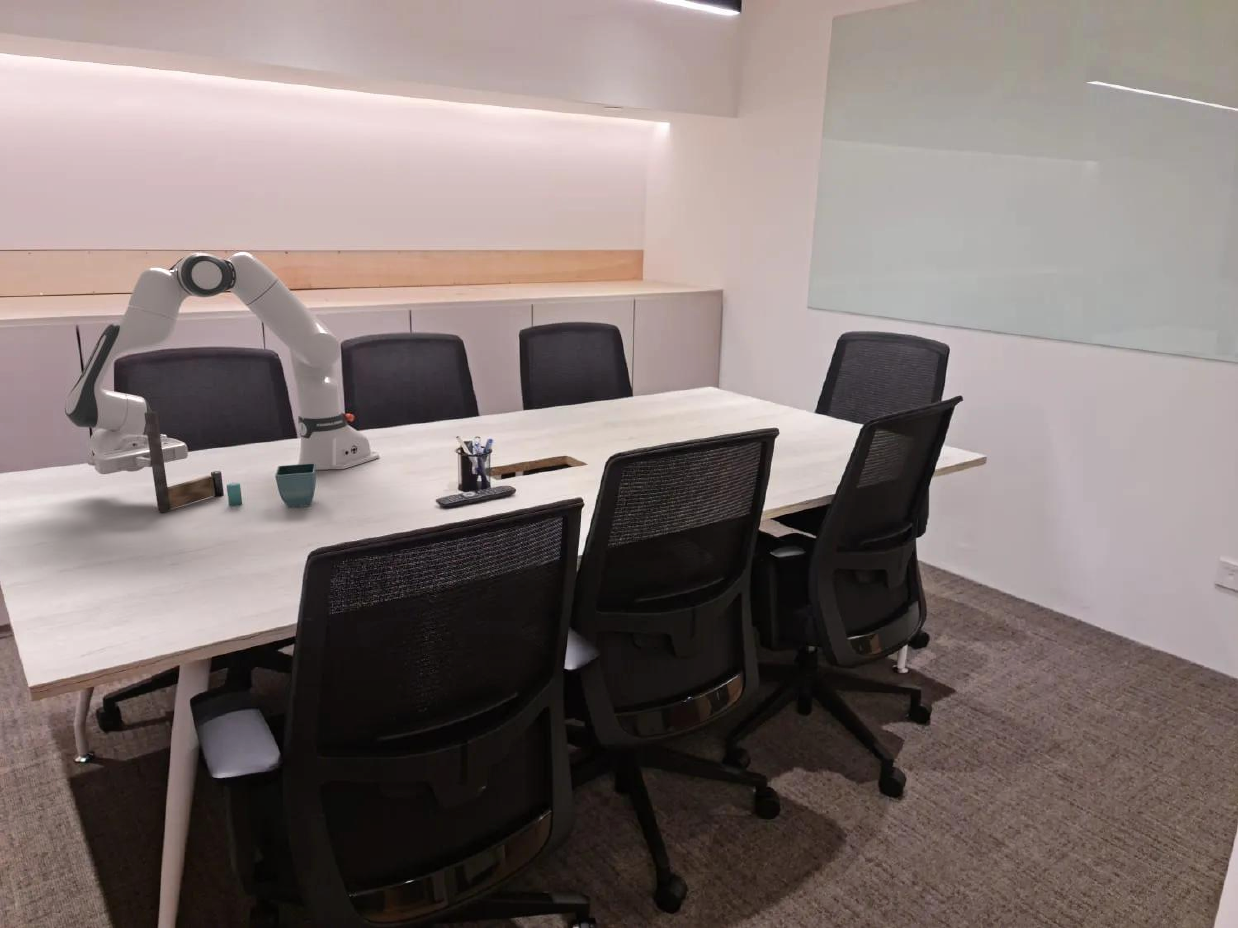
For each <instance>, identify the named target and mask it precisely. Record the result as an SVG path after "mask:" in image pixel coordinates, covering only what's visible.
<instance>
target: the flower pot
mask: <svg viewBox="0 0 1238 928" xmlns="http://www.w3.org/2000/svg"><path fill="white" fill-rule="evenodd" d="M274 476H275V480H276V481H275V482H276V485H277V489H278V493H279V496H280V498H281V501H283V503H284V504H285V505H286V507H287V508H298V507H309V506H311V504H312V502H313V499H314V497H315V491H316V484H317V470H316V464H315V463H311V464H299V465H298V464H290V465H288V464H287V465H286V464H285V465H279V466H277V469H276V472H275V474H274Z"/></svg>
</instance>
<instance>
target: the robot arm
mask: <svg viewBox="0 0 1238 928" xmlns="http://www.w3.org/2000/svg"><path fill="white" fill-rule="evenodd" d="M226 291H229V292H231V293H233V295H235V296H236V297H237V298H238V299H240V301H241V302H242V303H243V304H244V305H245V306H246V308H248V309H249V310H250V311H251V313H253V314H254V315H255V317H257V318H258V319H259V320H260V322H261V323H263V324H264V325H265V327H267V328H268V330H270V331H271V332H272V333H273V334H274V335H275V336H276V337H277V338H278V339H279V340H280V341H281V342H282V344H284V345H285V346H287V348H289V353H290V359H291V364H292V365H291V366H292V370H293V375H294V380H295V385H296V393H297V403H298V413H299V415H298V416H297V420H298V432H299V436H300V448H299V449H300V450H299V451H300V453H299V459H298V463H297V465H299V464H311V463H315V464H316V471H318V470H320V471H321V470H345V469H347V468H351V467H354V466H357V465H360V464H363V463H367V462H369V461H373V460H377V459H379V458H380V455H379V454H380V453H379V452H377V451H375V450H373V449H371V446H370V441H369V439H368V437H367V436H366V435H365V434H363V433H361V432H360V431H358V430H357V429H355V428H353V427H352V426H350V425H349V423H348V422H353V421H354V420H355V416H354V414H351V413H346V414H345V413H343V412H342V409H341V397H340V387H339V383H338V379H337V375H336V370H335V366H334V365H335V364H336V362H337V361H338V360H339V358H340V355H341V345H340V342H339V340H338V338H337V336H336V335H335V334H334V333H333V332H332V331H331V330H330V329H329V328H328V327H327V326H326V325H325V323H323V322H322V320H320V319H319V318H318V317H317V316H316V315H315V314H314V313H313V312H312V311H311V310H310V309H309V308H308V307H307V306H306V305H305V304H304V303H303V302H302V301H301V300H300V299H299V298H298V297H297V296H296V295H295V294H294V293H293V292H292V291H291V290H290V289H289V287H287V285H285V283H284V282H283V281H282V280H281V279H280V278H279V277H278V276H277V275H276V274H275V273H274V272H273V271H272V270H271V269H270V268H269V267H268V266H267V265H266V264H264V263H263V262H262V261H260V259H259V258H257V257H255V256H254V255H253V254H251V253H249V252H246V251H241V252H237V253H234V254H232V255H230V256H229V257H228V258H226V259H225V258H222V257H220V256H216V255H215V254H214V255H213V254H212V253H211V254H210V253H206V252H197V251H196V252H192V253H189V254H187V255H185V256H183V257H182V258H181V259H179V260H177V262H176V263H175V264H174V265H173V266H171V267H170V268H169V269H165V268H162V267H149V268H147V269H145V270H143V271H142V273H140V275H139V277H138V280H137V281H136V283H135V286H134V288H133V290H132V293H131V296H130V298H129V301H128V305H127V308H126V311H125V312H124V314H123V316H121V318H120V319H119V320H118V321H117V322H115V323H111V324H108V326H107V327H106V328H105V329H104V331H102V333H101V335H100V337H99V338H98V341H97V342H96V344H95V346H94V347H93V350H92V352H91V354H90V356H89V359H88V361H87V363H86V364H85V366H84V368H83V370H82V372H81V375H80V376H79V378H78V380H77V382H76V383H75V385H74V387H73V388H72V389H71V391H70V393H69V394H68V396H67V398H66V401H65V405H64V412H65V414H66V417H67V418H68V419H69V421H71V423H72V424H73V425H75V426H76V427H78V428H91V429H94V428H95V429H96V430H95V431H94V432H93V433H92V434H91V436H90V439H89V445H90V450H91V451H92V452H93V454H94V455H93V456H92V458H91V459H88V460H87V461H86V463H87V465H89V466H94V470H95V471H96V472H97V473H98V474H100V475H109V474H113V473H119V472H125V471H126V472H129V473H130V472H138V471H141V470H142V469H144V468H152V464H151V457H150V450H149V443H148V436H147V429H146V422H145V415H144V413H146V412H153V411H152V409H151V407H150V405H149V402H148V401H147V399H145V398H144V397H143V396H140V395H134V394H129V393H124V392H118V391H115V390H114V391H113V390H109V389H108V390H107V389H104V388H102V385H103V384H104V381H105V379H106V378H107V374H108V372H109V371H110V368H111V366H112V365H113V362H114V361H115V359H117V357H118V356H120V355H121V354H122V353H125V352H129V351H135V350H145V349H146V350H147V349H151V348H152V349H153V348H155V347H159V346H160V345H162V344H164V343H166V342H167V341H168V340H170V338H171V336H172V334H173V333H174V330H175V327H176V323H177V319H178V316H179V313H180V308H181V306H182V304H183V302H184V301H185V300H186V299H187V298H188V297H191V296H192V297H197V298H208V297H209V298H210V297H214V296H218V295H219V294H221V293H224V292H226ZM347 421H348V422H347ZM160 438H161V445H162V452H163V459H164V464H165V463H169V462H175V461H179V460H184V459H187V458H188V456H189V450H188V446H187V444H186V443H185V442H184V441H181V440H178V439H176V438H171V437H168V436H167V434H163V433H160Z"/></svg>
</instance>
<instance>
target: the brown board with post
mask: <svg viewBox="0 0 1238 928" xmlns="http://www.w3.org/2000/svg"><path fill="white" fill-rule="evenodd" d="M144 415H145V422H146V429H147V436H148V443H149V450H150V457H151V464H152V467H151V469H152V471H151V472H152V475H153V476H152V477H153V483H154V489H155V490H154V491H155V497H156V504H157V511H158V512H159V513H163V512H170V511H171V510H174V509H176V508H179V507H183V506H186V505H190V504H193V503H196V502H199V501H202V500H206V499H209V498H212V497H214V496H215V491H214V483H213V476H211V475H206V476H203V477H199V478H195V479H191V480H188V481H184V482H181V483H178V484H174V485H171V486H168V482H167V475H166V468H165V463H164V459H163V452H162V445H161V438H160V434H161V432H160V425H159V419H158V412H157V411H152V412H146V413H144Z"/></svg>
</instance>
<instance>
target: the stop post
mask: <svg viewBox="0 0 1238 928" xmlns="http://www.w3.org/2000/svg"><path fill="white" fill-rule="evenodd" d="M226 490H227V500H228V505H229V507H238V506H241V505H243V498H242V497H243V496H242V488H241V483H239V482H233V483H228V484H226Z"/></svg>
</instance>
